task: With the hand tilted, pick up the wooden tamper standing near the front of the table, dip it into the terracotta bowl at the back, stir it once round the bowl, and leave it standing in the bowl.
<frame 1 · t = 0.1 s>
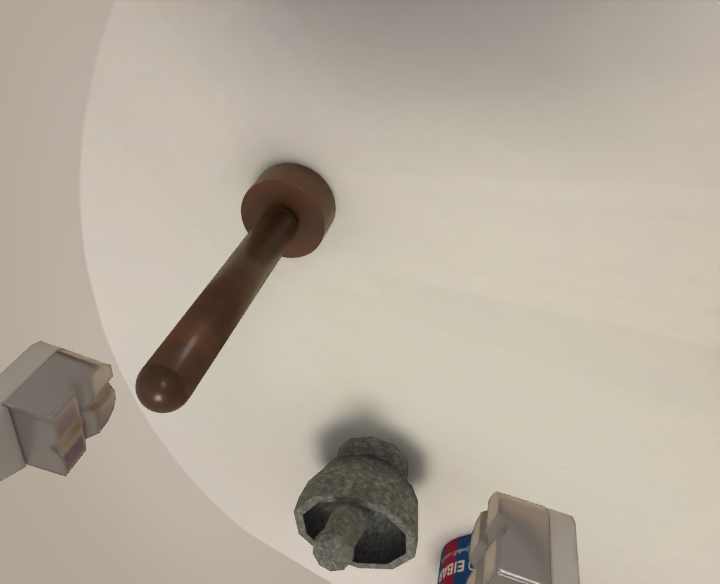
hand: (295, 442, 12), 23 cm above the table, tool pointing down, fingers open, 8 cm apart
wooden tamper: (295, 202, 35), on the table
mug: (513, 577, 54), on the table
mortar and pestle: (373, 454, 49), on the table
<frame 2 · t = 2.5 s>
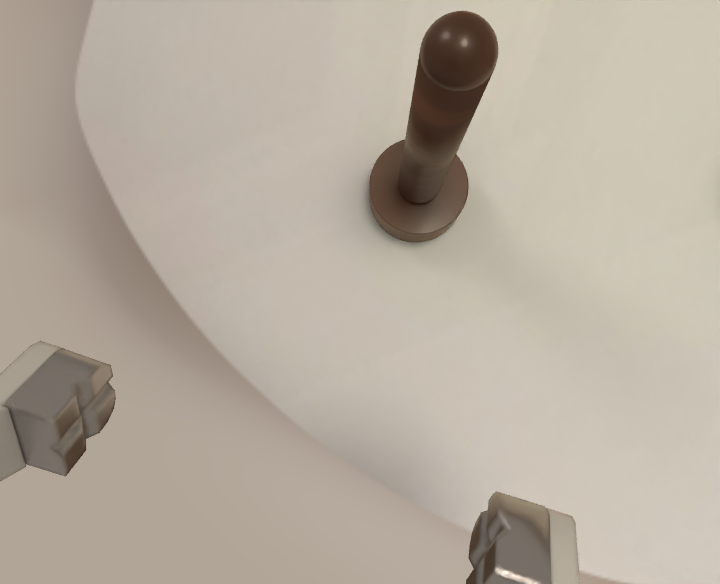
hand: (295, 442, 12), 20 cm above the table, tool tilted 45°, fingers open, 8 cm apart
wooden tamper: (415, 196, 32), on the table
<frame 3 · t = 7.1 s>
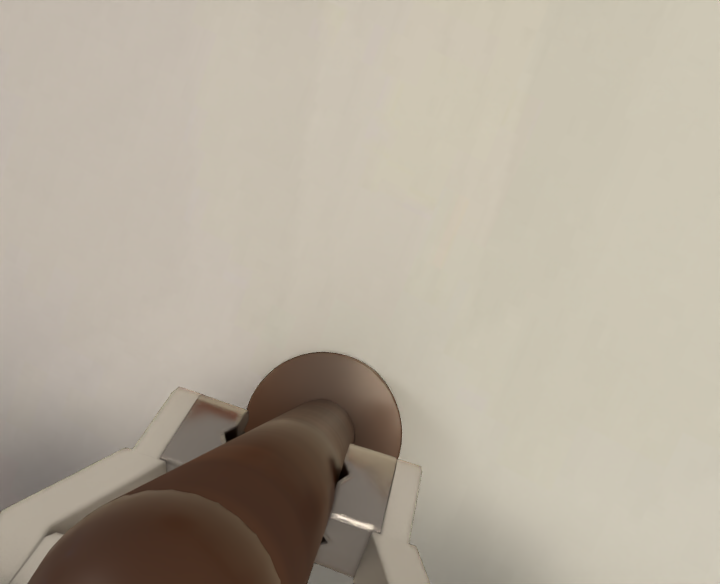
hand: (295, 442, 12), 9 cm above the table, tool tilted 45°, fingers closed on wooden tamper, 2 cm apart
wooden tamper: (328, 424, 21), on the table, touching gripper
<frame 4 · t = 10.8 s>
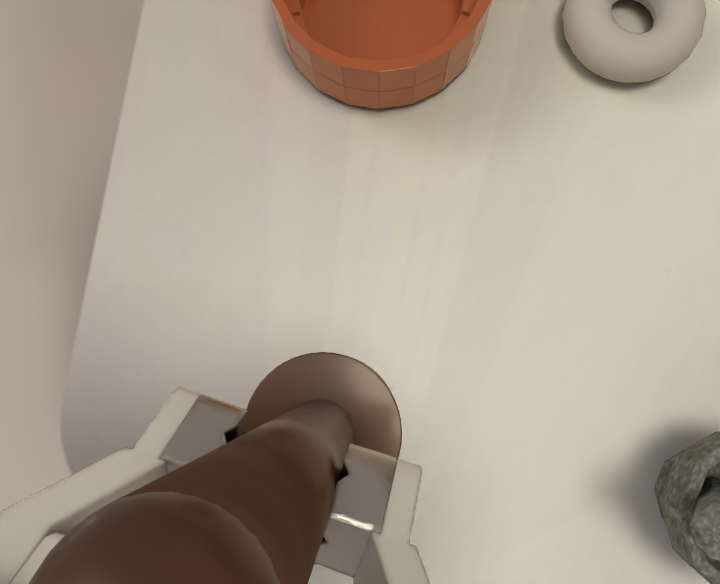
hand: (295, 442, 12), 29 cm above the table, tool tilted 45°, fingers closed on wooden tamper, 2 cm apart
wooden tamper: (328, 424, 21), point 20 cm above the table, touching gripper
donut: (622, 30, 43), on the table
bowl: (381, 16, 44), on the table
mortar and pestle: (689, 492, 39), on the table
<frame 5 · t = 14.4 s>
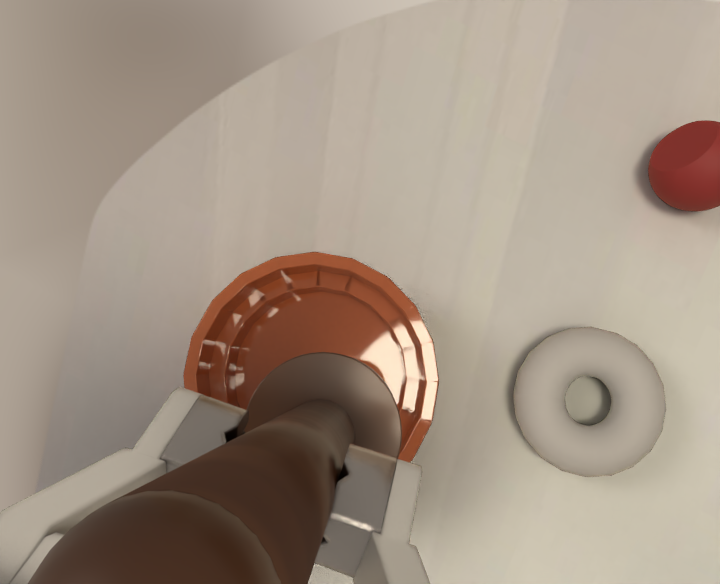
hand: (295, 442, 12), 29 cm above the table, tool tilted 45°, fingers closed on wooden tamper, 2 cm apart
wooden tamper: (328, 424, 21), point 20 cm above the table, touching gripper
donut: (578, 398, 40), on the table
bowl: (320, 375, 41), on the table
fruit: (692, 188, 42), on the table
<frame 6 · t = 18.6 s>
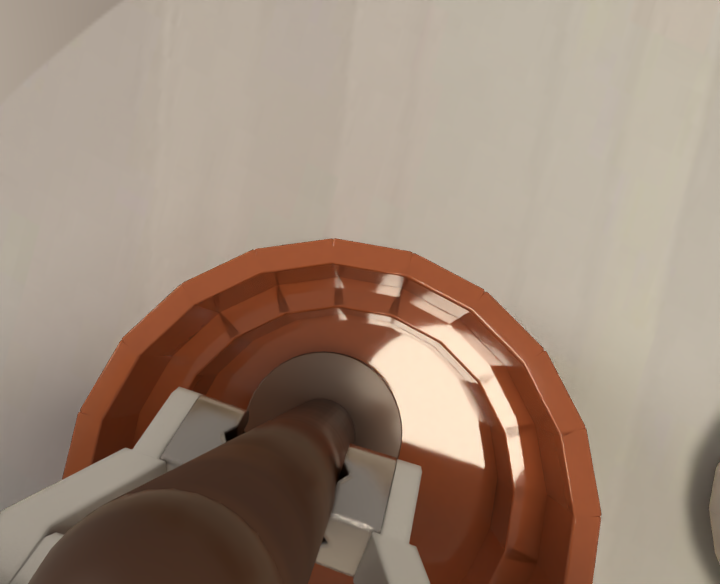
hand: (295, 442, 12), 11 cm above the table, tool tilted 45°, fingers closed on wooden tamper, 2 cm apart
wooden tamper: (328, 424, 21), point 2 cm above the table, touching gripper
bowl: (339, 468, 22), on the table
when the fingers open (10 cm above the table, at t = 21.8 s): wooden tamper stays where it is, resting on bowl.
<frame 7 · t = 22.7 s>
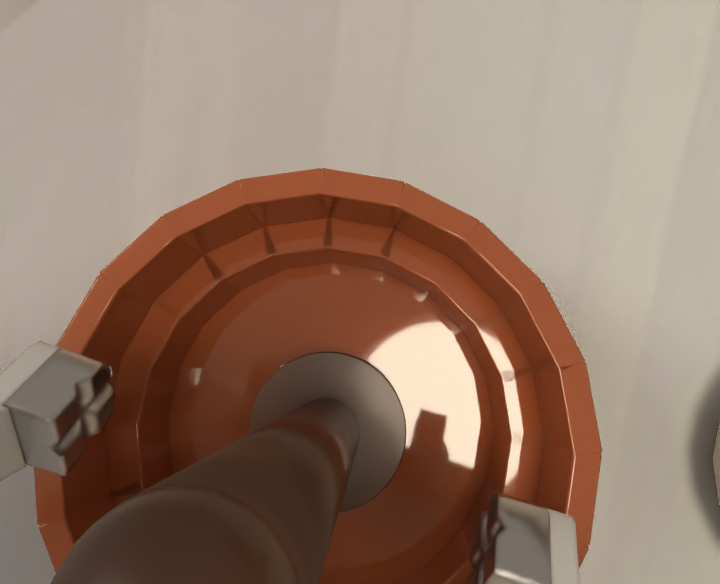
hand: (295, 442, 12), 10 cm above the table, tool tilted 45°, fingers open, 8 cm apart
wooden tamper: (333, 423, 21), point 1 cm above the table, touching bowl
bowl: (330, 421, 22), on the table
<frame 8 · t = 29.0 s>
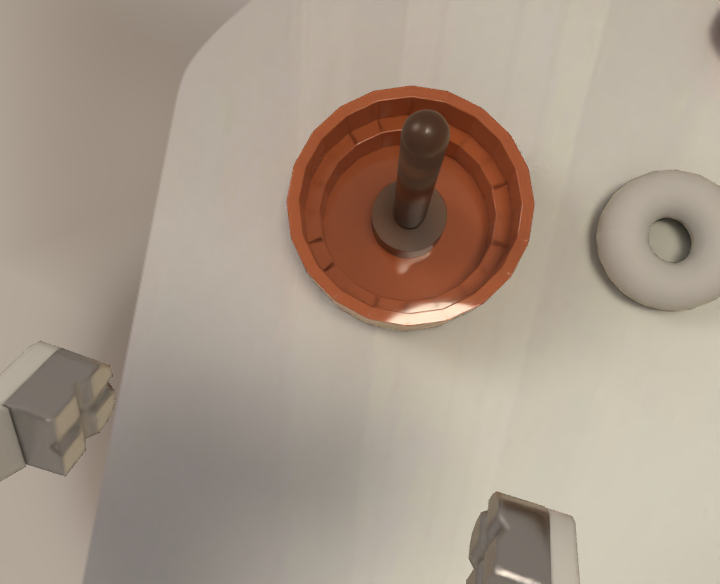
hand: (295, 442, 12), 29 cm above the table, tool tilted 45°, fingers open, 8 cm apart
wooden tamper: (407, 223, 41), point 1 cm above the table, touching bowl
donut: (657, 245, 41), on the table
bowl: (405, 225, 42), on the table
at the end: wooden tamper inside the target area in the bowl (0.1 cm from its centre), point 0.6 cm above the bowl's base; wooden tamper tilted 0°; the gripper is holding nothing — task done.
